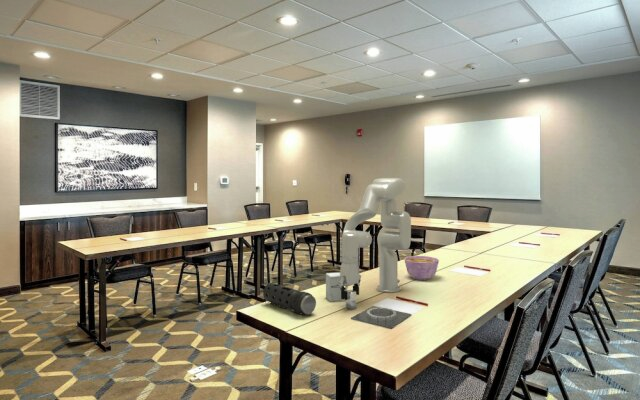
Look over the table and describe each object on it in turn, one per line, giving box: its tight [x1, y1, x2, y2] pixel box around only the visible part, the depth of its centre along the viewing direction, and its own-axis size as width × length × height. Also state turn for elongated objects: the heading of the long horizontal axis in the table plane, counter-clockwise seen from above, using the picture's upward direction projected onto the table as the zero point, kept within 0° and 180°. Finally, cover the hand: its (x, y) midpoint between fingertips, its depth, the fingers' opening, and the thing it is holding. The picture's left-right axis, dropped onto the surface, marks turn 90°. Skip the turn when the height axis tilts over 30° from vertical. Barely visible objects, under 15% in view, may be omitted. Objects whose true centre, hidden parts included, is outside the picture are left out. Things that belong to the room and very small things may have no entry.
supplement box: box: [325, 271, 345, 303], centre depth 193 cm, size 7×7×13 cm
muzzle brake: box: [262, 282, 317, 316], centre depth 178 cm, size 10×28×10 cm, turn 44°
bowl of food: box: [404, 255, 440, 281], centre depth 230 cm, size 20×20×12 cm
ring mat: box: [350, 305, 412, 330], centre depth 167 cm, size 19×19×2 cm
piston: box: [344, 289, 357, 311], centre depth 179 cm, size 5×5×8 cm
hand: (350, 296), depth 178 cm, fingers open, 9 cm apart
